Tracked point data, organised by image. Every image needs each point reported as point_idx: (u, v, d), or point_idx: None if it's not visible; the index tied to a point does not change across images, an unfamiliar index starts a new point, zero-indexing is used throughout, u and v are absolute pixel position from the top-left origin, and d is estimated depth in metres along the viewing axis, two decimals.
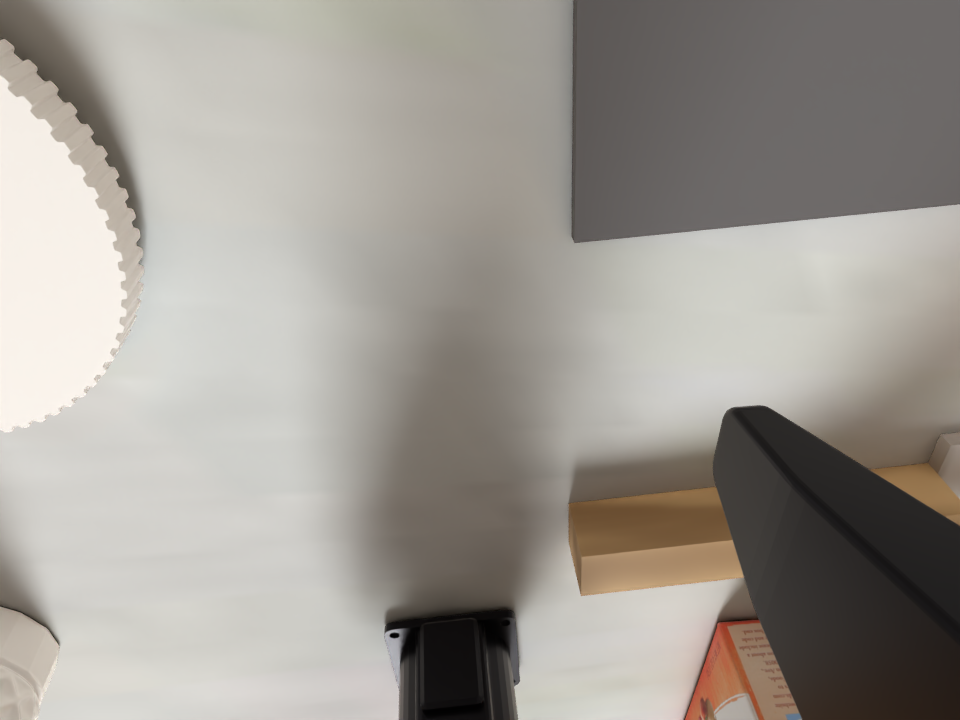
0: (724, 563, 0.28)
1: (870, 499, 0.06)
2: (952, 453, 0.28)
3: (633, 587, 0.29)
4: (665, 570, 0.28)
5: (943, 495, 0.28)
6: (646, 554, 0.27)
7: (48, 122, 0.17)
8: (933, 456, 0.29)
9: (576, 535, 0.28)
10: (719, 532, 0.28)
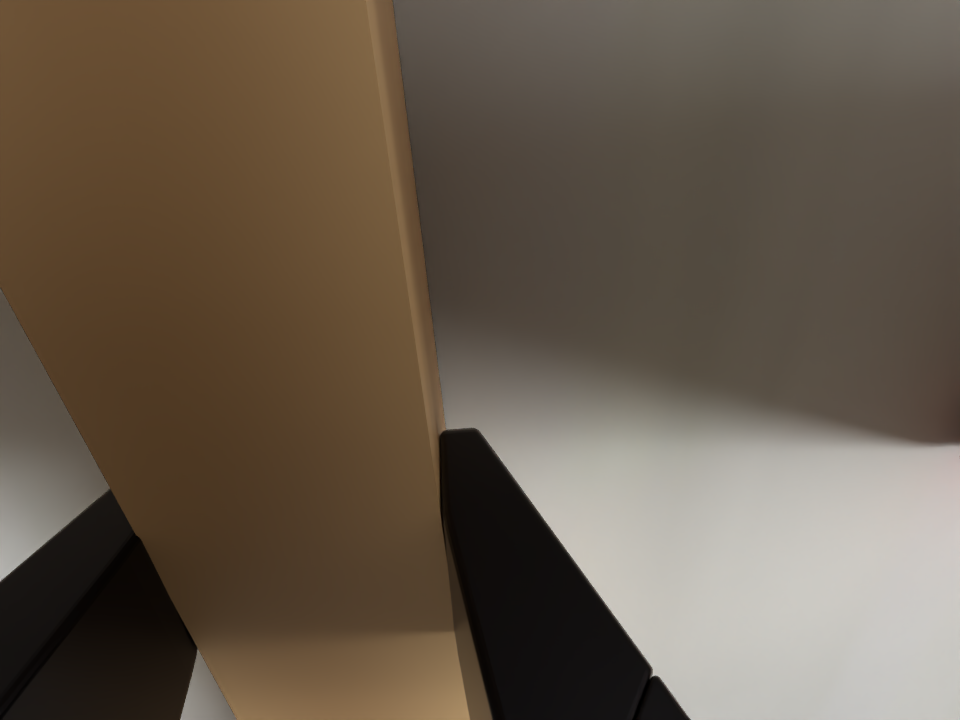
0: None
1: (505, 530, 0.06)
2: None
3: None
4: None
5: None
6: None
7: None
8: None
9: None
10: None
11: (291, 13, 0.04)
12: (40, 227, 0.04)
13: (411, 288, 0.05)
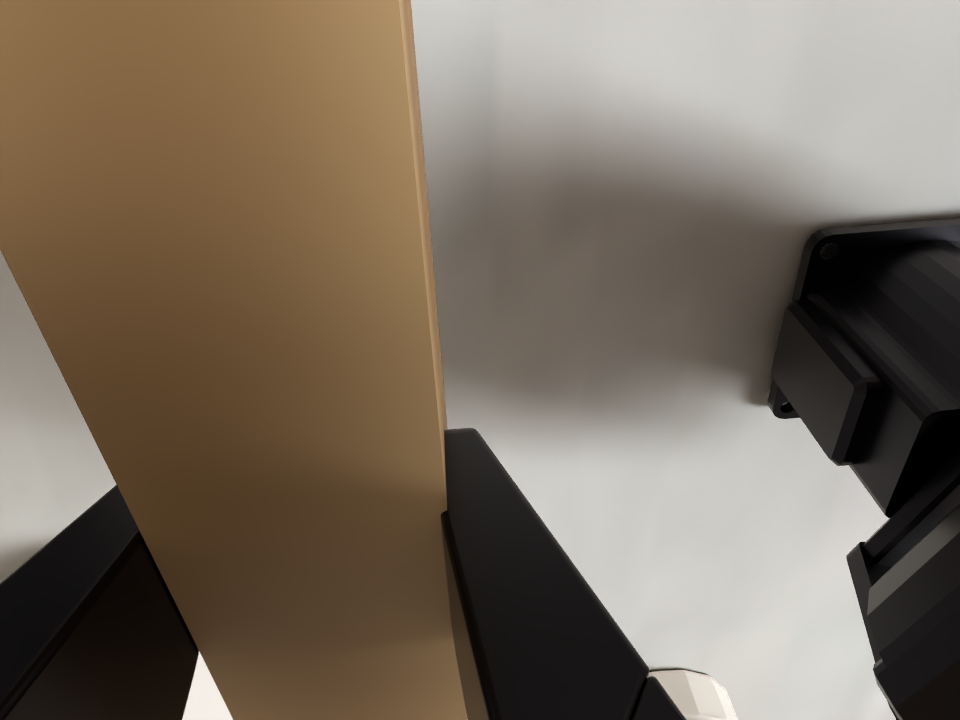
0: None
1: (502, 530, 0.06)
2: None
3: None
4: None
5: None
6: None
7: None
8: None
9: None
10: None
11: (325, 19, 0.04)
12: (61, 224, 0.04)
13: (428, 294, 0.05)
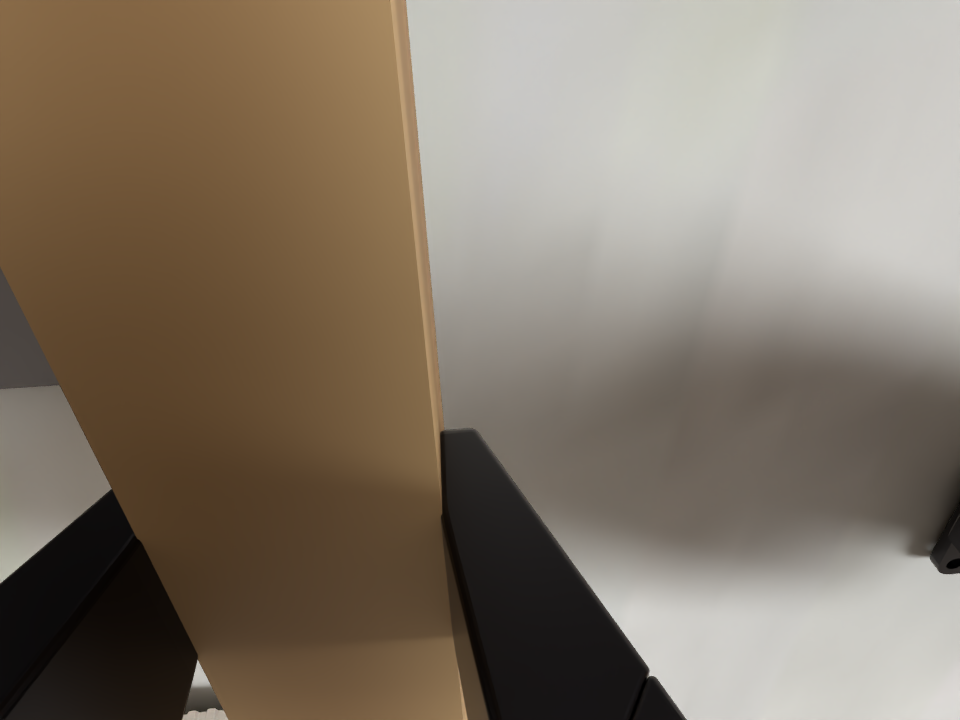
0: None
1: (502, 530, 0.06)
2: None
3: None
4: None
5: None
6: None
7: None
8: None
9: None
10: None
11: (315, 19, 0.04)
12: (52, 225, 0.04)
13: (422, 295, 0.05)
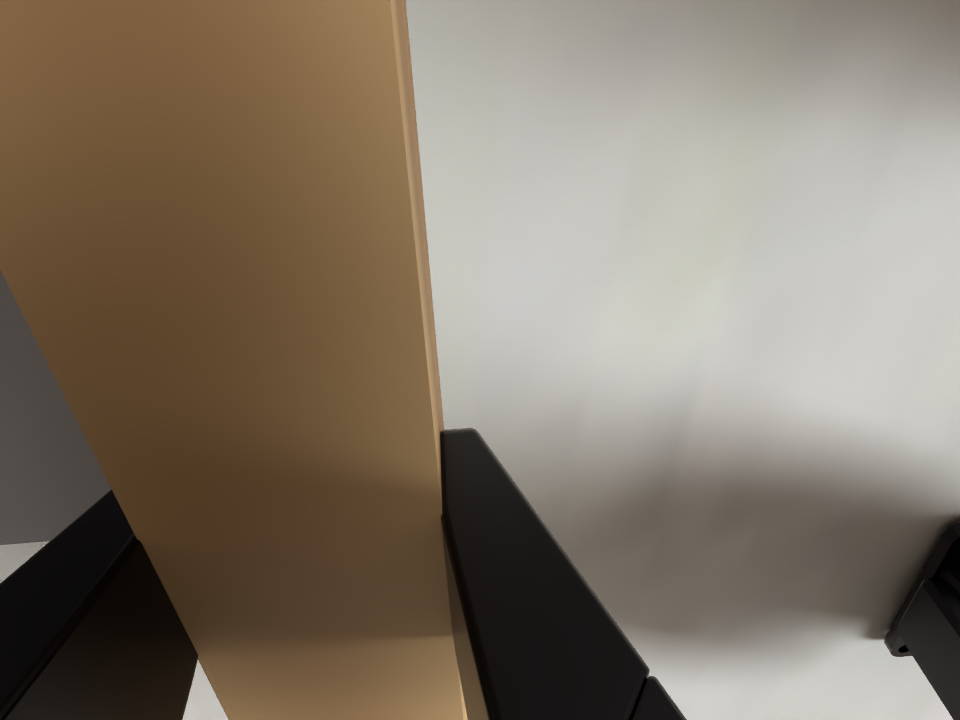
0: None
1: (502, 530, 0.06)
2: None
3: None
4: None
5: None
6: None
7: None
8: None
9: None
10: None
11: (317, 21, 0.04)
12: (51, 226, 0.04)
13: (422, 295, 0.05)
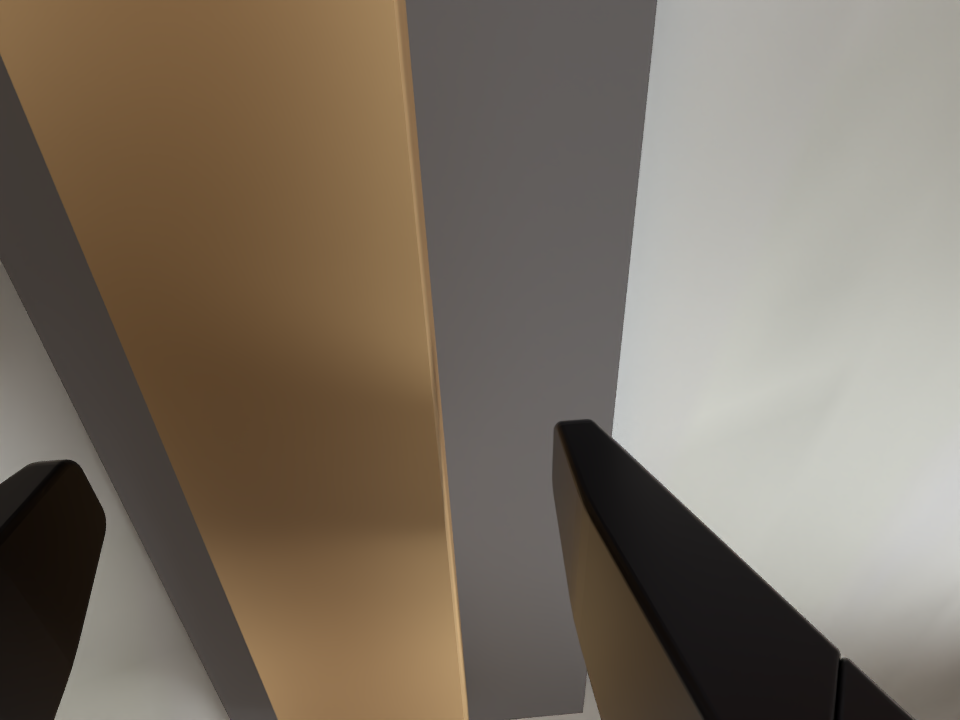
0: (382, 701, 0.09)
1: (651, 518, 0.06)
2: None
3: None
4: None
5: None
6: None
7: None
8: None
9: None
10: None
11: None
12: (107, 165, 0.05)
13: (418, 234, 0.06)
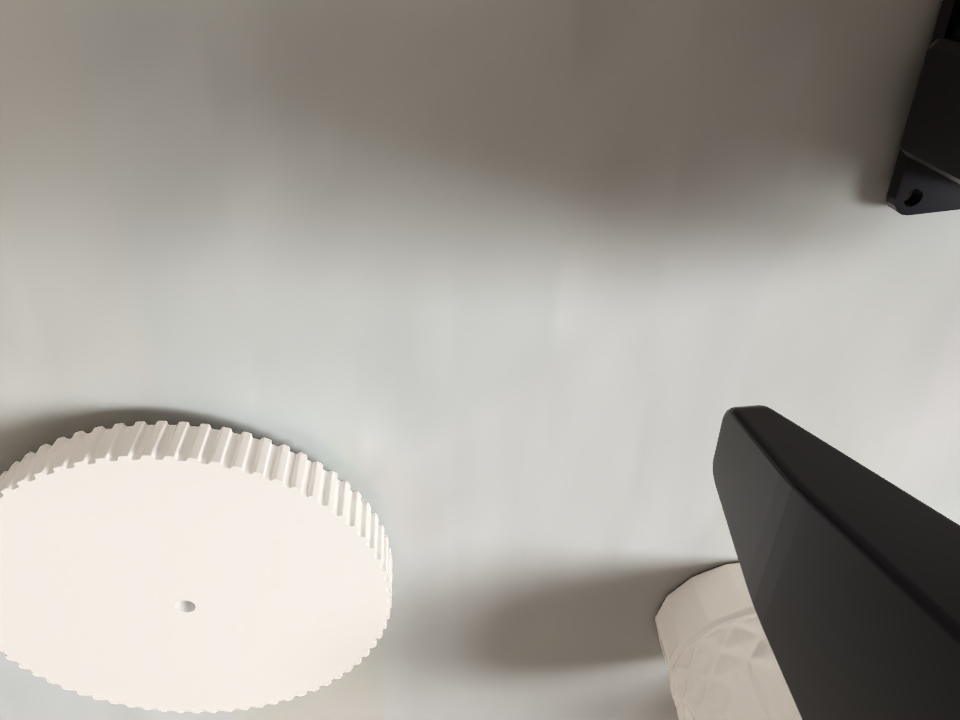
0: None
1: (870, 499, 0.06)
2: None
3: None
4: None
5: None
6: None
7: (19, 480, 0.19)
8: None
9: None
10: None
11: None
12: None
13: None
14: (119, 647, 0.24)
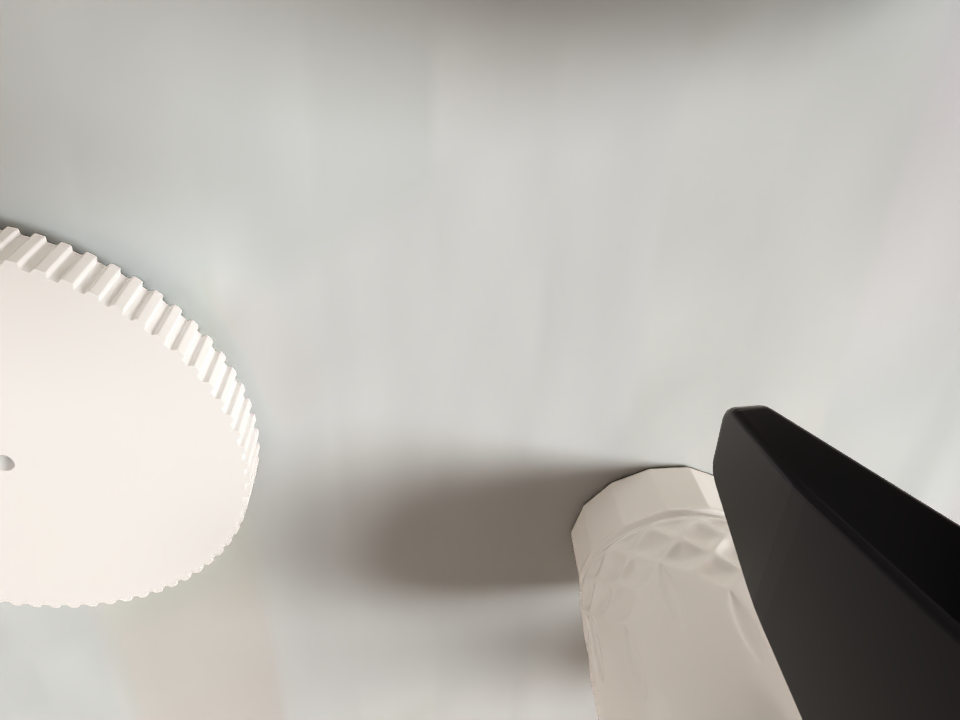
0: None
1: (870, 499, 0.06)
2: None
3: None
4: None
5: None
6: None
7: None
8: None
9: None
10: None
11: None
12: None
13: None
14: None
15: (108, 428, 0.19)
